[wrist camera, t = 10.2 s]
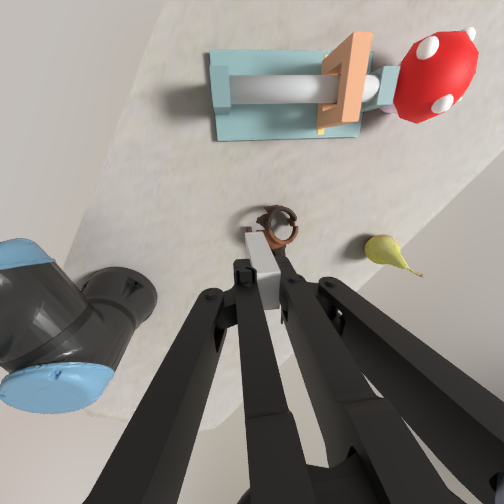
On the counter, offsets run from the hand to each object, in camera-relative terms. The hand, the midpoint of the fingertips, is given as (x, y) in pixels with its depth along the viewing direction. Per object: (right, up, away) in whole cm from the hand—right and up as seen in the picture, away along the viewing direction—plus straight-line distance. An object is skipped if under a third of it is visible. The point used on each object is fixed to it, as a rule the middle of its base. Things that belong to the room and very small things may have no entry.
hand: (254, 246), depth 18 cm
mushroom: (+25, +28, +19) cm, 42 cm away
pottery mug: (+4, +5, +28) cm, 29 cm away
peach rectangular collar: (+12, +25, +17) cm, 33 cm away
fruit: (+29, +2, +33) cm, 44 cm away
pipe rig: (+6, +26, +18) cm, 32 cm away
